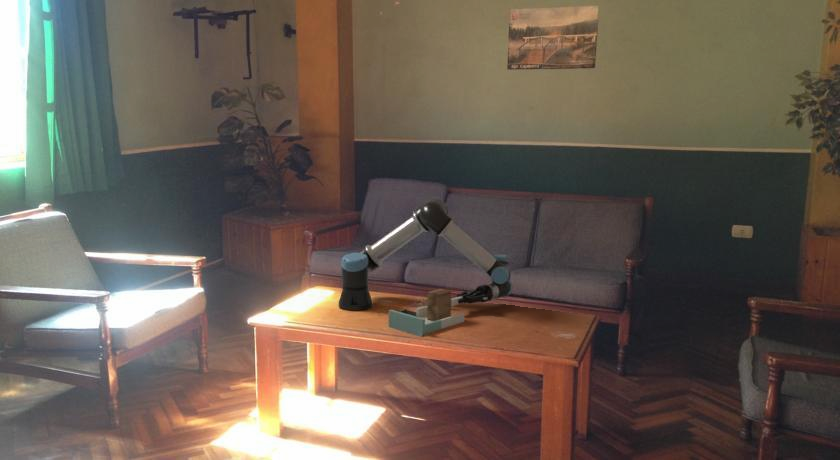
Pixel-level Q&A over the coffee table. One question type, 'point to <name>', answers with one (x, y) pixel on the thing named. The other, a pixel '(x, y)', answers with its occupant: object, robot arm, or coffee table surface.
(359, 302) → the robot arm
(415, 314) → the tray
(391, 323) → the teal and white tray
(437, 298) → the walnut block
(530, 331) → the coffee table surface
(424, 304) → the decorative key
